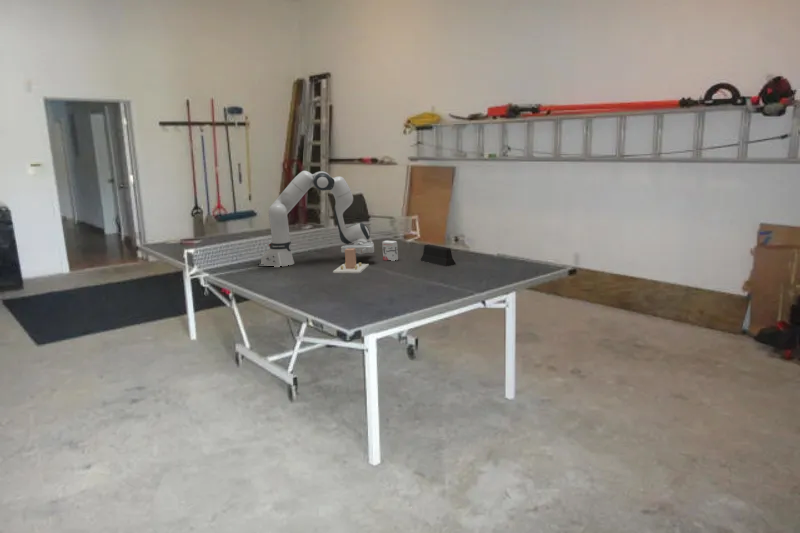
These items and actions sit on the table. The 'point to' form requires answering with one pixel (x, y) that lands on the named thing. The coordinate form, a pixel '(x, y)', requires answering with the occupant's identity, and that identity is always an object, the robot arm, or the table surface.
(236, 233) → the table surface
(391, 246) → the ink box
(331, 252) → the table surface
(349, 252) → the terracotta block
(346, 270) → the mounting plate
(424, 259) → the barrier
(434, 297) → the table surface
